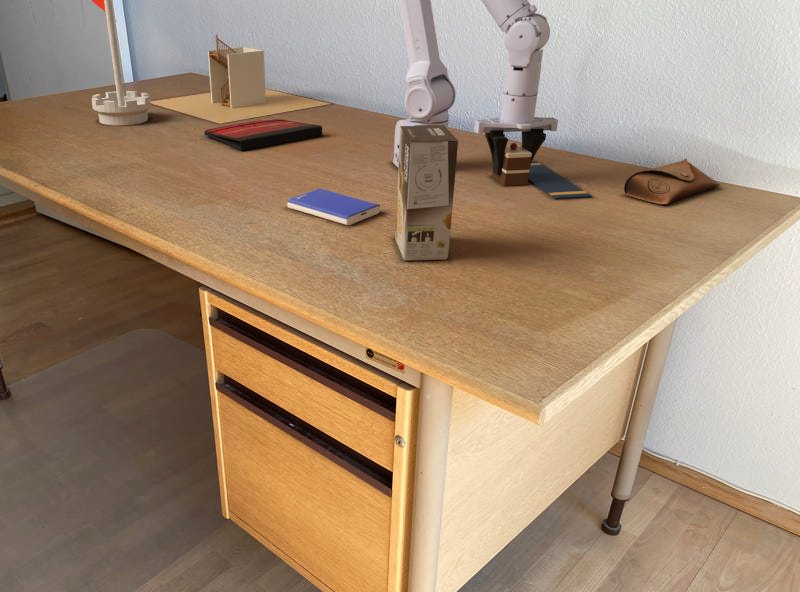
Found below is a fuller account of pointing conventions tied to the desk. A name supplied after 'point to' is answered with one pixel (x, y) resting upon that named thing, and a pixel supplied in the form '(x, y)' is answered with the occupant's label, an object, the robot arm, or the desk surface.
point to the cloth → (554, 183)
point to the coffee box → (425, 191)
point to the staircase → (236, 89)
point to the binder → (263, 133)
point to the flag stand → (119, 87)
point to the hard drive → (333, 206)
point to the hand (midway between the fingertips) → (510, 172)
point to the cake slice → (514, 166)
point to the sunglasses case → (668, 183)
